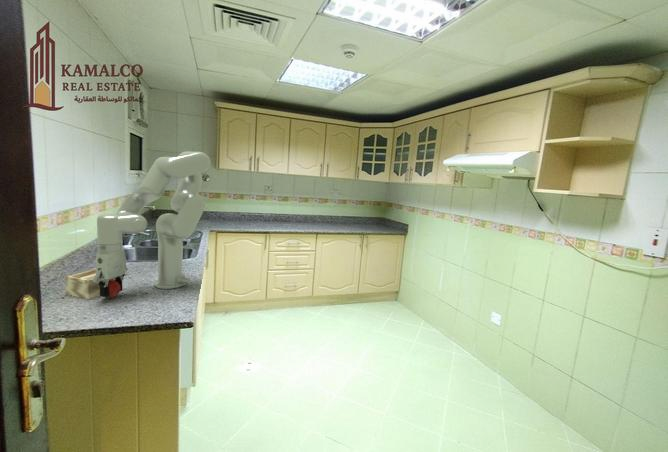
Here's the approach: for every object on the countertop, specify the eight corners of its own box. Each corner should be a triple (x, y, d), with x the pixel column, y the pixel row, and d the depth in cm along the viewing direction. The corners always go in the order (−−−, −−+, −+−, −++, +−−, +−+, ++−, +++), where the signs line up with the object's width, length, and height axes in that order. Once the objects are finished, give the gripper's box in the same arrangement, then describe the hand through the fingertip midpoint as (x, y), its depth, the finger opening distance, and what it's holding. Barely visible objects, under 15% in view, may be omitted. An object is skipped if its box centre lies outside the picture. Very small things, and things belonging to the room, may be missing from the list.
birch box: (119, 289, 130) (119, 271, 129) (88, 300, 118) (88, 280, 117) (98, 285, 133) (97, 267, 132) (65, 295, 120) (65, 276, 119)
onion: (99, 301, 117) (98, 280, 116) (106, 295, 122) (105, 275, 121) (117, 300, 119) (116, 280, 117) (123, 295, 124) (122, 275, 123)
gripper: (100, 253, 109) (102, 303, 111) (136, 243, 126) (136, 287, 128) (80, 251, 109) (82, 300, 112) (118, 242, 126) (119, 285, 129)
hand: (111, 293), depth 120 cm, fingers closed on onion, 5 cm apart
